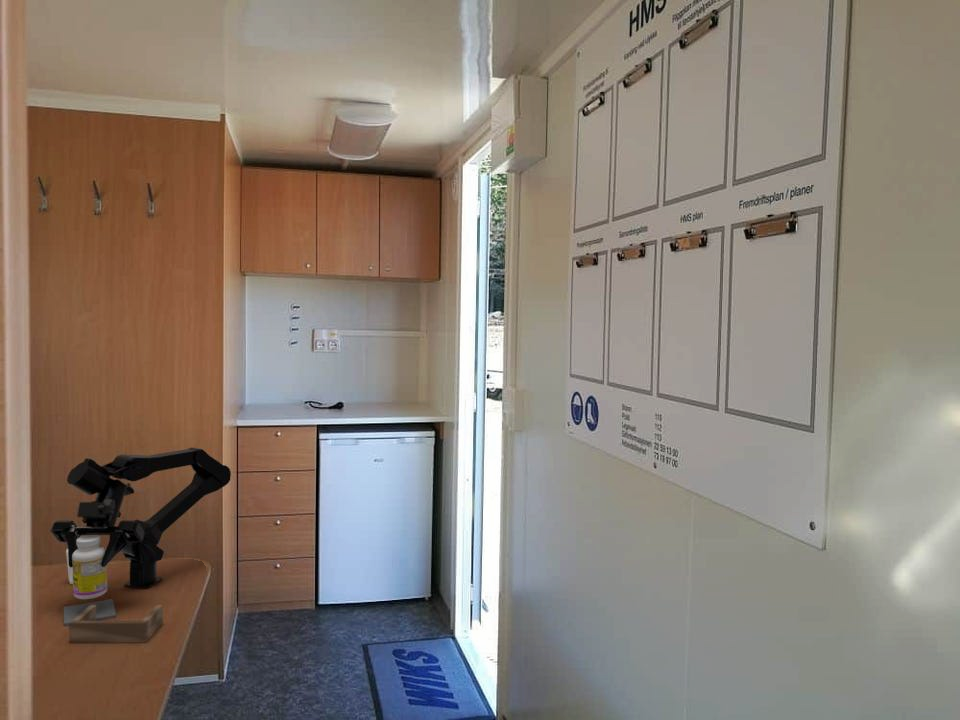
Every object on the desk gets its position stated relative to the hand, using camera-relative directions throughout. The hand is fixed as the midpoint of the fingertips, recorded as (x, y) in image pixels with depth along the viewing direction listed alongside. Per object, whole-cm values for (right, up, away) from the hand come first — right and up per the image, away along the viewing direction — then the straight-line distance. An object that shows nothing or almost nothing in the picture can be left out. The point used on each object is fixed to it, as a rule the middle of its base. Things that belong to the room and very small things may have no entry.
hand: (86, 566), depth 161 cm
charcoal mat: (0, -11, +2) cm, 11 cm away
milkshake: (-13, -10, +20) cm, 26 cm away
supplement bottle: (0, -7, +2) cm, 7 cm away
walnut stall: (+10, -12, -7) cm, 17 cm away
